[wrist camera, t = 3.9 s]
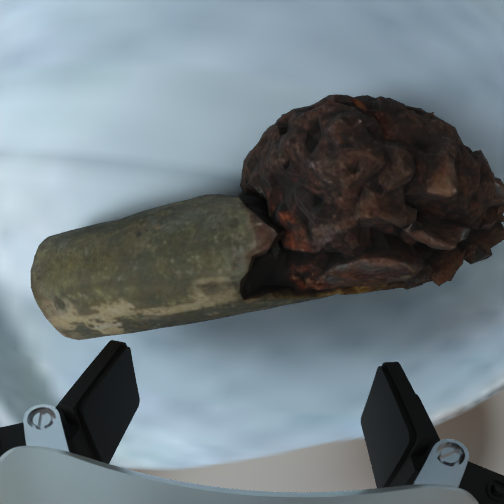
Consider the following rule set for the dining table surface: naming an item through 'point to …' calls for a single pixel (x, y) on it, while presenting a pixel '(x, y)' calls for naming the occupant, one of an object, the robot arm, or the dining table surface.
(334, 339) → the dining table surface
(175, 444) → the dining table surface
